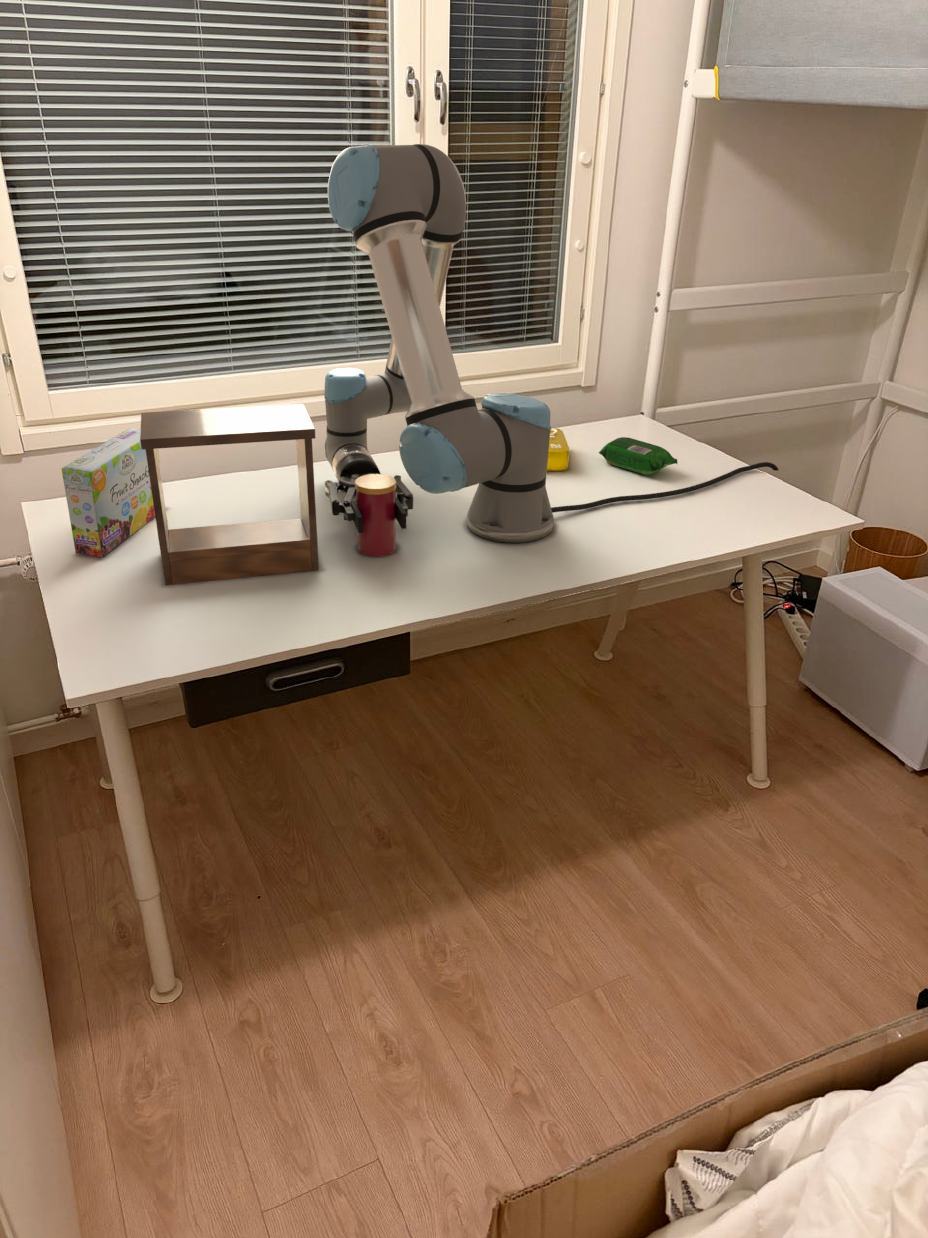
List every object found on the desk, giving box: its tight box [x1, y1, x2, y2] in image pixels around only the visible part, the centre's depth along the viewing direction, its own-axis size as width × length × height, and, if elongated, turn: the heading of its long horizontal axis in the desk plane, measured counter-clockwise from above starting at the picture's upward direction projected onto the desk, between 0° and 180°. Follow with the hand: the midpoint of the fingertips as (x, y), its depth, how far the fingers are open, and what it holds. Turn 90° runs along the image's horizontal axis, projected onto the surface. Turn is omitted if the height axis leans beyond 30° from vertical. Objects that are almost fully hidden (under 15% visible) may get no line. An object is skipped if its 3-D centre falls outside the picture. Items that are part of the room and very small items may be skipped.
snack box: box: [61, 427, 162, 558], centre depth 157 cm, size 21×6×15 cm, turn 168°
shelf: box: [140, 403, 320, 586], centre depth 147 cm, size 25×13×24 cm, turn 106°
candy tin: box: [355, 473, 397, 557], centre depth 155 cm, size 7×7×12 cm
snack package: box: [598, 436, 678, 476], centre depth 193 cm, size 7×16×5 cm, turn 46°
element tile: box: [547, 427, 570, 472], centre depth 197 cm, size 15×15×5 cm
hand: (382, 523), depth 150 cm, fingers closed on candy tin, 6 cm apart
